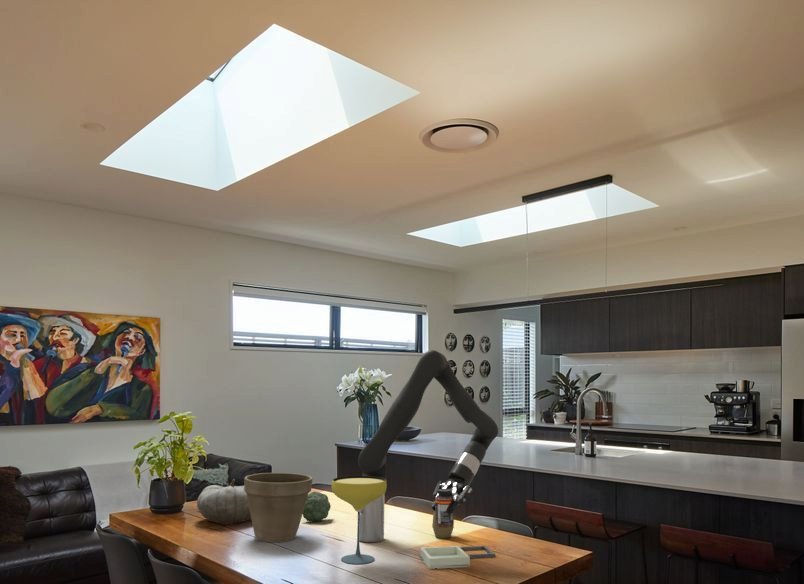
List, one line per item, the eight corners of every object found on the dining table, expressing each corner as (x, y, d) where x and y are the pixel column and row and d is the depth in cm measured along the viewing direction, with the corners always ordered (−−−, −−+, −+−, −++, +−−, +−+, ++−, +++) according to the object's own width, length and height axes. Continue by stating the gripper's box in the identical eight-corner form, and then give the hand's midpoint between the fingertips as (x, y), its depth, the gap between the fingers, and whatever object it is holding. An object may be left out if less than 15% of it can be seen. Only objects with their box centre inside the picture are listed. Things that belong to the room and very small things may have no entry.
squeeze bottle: (452, 540, 226) (452, 489, 228) (430, 538, 227) (430, 488, 230) (455, 534, 233) (454, 485, 236) (433, 533, 235) (433, 484, 238)
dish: (429, 568, 190) (429, 558, 191) (420, 557, 203) (420, 547, 203) (469, 566, 193) (469, 556, 193) (458, 555, 205) (458, 546, 206)
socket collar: (465, 558, 202) (465, 555, 202) (456, 550, 212) (456, 546, 212) (495, 557, 204) (495, 553, 204) (485, 548, 214) (485, 545, 214)
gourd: (225, 524, 234) (226, 477, 240) (181, 528, 246) (183, 482, 252) (272, 520, 254) (271, 476, 260) (229, 523, 267) (230, 481, 272)
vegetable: (326, 509, 267) (340, 498, 256) (311, 535, 258) (325, 525, 247) (304, 493, 266) (316, 481, 256) (288, 518, 257) (300, 507, 247)
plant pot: (323, 534, 232) (325, 474, 236) (284, 549, 210) (287, 484, 214) (269, 527, 243) (271, 470, 246) (226, 541, 221) (230, 478, 224)
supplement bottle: (437, 523, 203) (436, 487, 205) (455, 524, 202) (454, 488, 203) (433, 527, 197) (433, 490, 199) (452, 528, 196) (452, 491, 198)
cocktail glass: (325, 567, 191) (327, 483, 195) (334, 551, 209) (336, 475, 213) (383, 568, 190) (384, 484, 194) (387, 552, 208) (388, 476, 212)
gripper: (443, 460, 213) (419, 500, 203) (475, 464, 202) (451, 507, 192) (454, 474, 215) (430, 515, 206) (486, 479, 205) (463, 522, 195)
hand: (441, 511), depth 199 cm, fingers closed on supplement bottle, 6 cm apart
